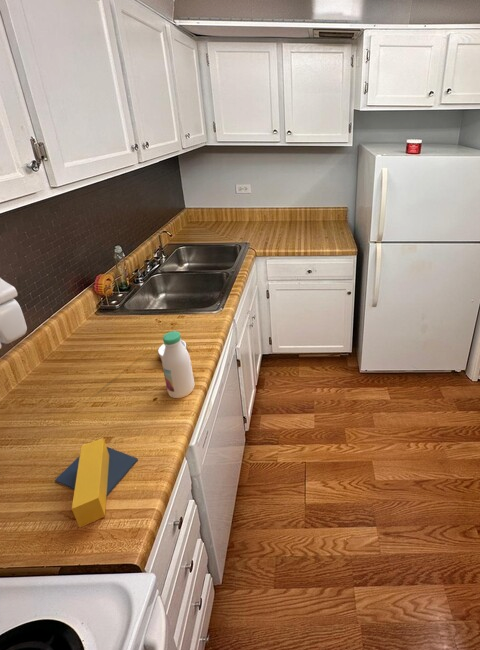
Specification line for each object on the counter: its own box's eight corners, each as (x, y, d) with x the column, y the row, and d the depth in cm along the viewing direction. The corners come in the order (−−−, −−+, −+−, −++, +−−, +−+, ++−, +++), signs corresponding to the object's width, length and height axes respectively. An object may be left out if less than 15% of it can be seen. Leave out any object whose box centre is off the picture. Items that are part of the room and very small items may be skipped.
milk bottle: (195, 378, 106) (187, 325, 99) (193, 396, 99) (184, 341, 92) (170, 382, 104) (159, 329, 97) (166, 401, 97) (154, 345, 90)
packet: (81, 445, 77) (71, 509, 65) (103, 437, 79) (98, 497, 67) (87, 463, 79) (79, 527, 67) (109, 455, 81) (105, 516, 69)
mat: (55, 481, 76) (54, 479, 76) (94, 443, 85) (94, 441, 85) (101, 502, 72) (101, 500, 72) (138, 460, 81) (137, 458, 80)
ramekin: (191, 359, 114) (189, 349, 112) (164, 370, 109) (161, 359, 107) (183, 346, 121) (181, 336, 119) (157, 355, 116) (155, 345, 114)
